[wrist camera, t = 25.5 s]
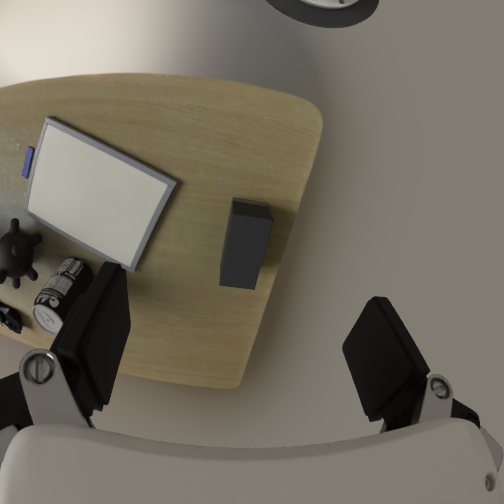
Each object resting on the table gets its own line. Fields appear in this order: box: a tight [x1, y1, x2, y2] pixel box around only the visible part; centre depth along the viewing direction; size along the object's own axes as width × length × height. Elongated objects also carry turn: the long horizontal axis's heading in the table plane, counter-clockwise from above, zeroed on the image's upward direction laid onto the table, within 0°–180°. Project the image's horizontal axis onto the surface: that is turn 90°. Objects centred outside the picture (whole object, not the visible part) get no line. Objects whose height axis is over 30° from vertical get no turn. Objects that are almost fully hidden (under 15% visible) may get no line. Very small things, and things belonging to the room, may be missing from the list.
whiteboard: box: [24, 117, 178, 273], centre depth 32 cm, size 16×22×1 cm
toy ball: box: [0, 218, 42, 289], centre depth 31 cm, size 11×11×12 cm
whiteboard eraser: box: [219, 198, 273, 290], centre depth 35 cm, size 10×5×6 cm, turn 168°
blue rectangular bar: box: [22, 146, 34, 179], centre depth 29 cm, size 5×1×1 cm, turn 147°
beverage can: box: [32, 258, 93, 336], centre depth 34 cm, size 7×7×12 cm
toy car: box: [0, 303, 22, 334], centre depth 41 cm, size 8×12×4 cm
